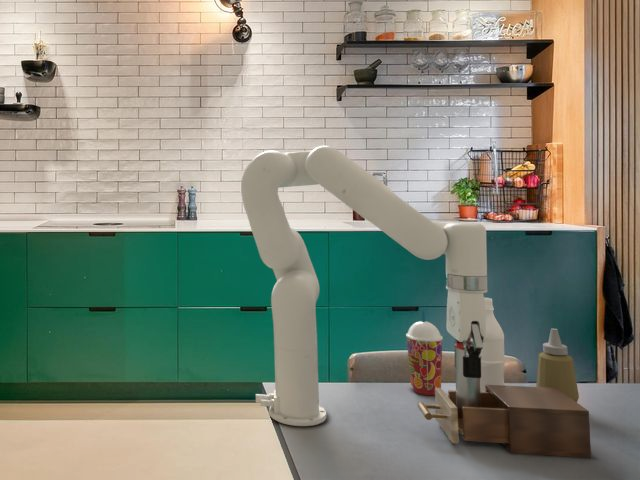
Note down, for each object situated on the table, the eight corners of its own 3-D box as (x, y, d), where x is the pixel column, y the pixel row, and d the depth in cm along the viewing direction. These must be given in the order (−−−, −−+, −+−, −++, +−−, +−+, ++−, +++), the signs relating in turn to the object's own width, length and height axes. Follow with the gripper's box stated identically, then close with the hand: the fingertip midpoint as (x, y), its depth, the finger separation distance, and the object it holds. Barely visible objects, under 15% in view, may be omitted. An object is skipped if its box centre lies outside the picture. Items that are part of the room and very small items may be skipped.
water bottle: (512, 416, 124) (508, 302, 125) (477, 414, 125) (472, 301, 126) (500, 404, 131) (496, 296, 132) (466, 402, 132) (462, 295, 133)
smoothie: (403, 385, 145) (401, 306, 146) (438, 386, 144) (435, 307, 144) (413, 396, 136) (410, 313, 137) (449, 398, 135) (446, 314, 136)
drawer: (429, 441, 110) (427, 406, 111) (415, 418, 121) (413, 386, 122) (522, 447, 107) (521, 411, 107) (499, 423, 118) (498, 390, 119)
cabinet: (511, 452, 107) (509, 406, 107) (486, 425, 119) (484, 384, 120) (591, 457, 104) (588, 410, 105) (557, 429, 117) (555, 387, 117)
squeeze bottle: (575, 405, 129) (571, 326, 130) (584, 418, 122) (580, 334, 123) (533, 400, 133) (530, 323, 133) (539, 413, 125) (536, 331, 126)
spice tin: (459, 410, 113) (458, 348, 113) (452, 402, 117) (451, 342, 118) (484, 412, 112) (483, 349, 112) (476, 403, 116) (475, 343, 117)
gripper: (435, 276, 124) (436, 359, 124) (459, 289, 108) (461, 386, 107) (471, 277, 123) (473, 361, 122) (502, 291, 106) (504, 388, 106)
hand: (467, 372), depth 115 cm, fingers closed on spice tin, 4 cm apart
